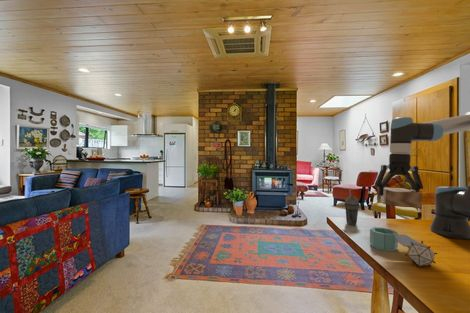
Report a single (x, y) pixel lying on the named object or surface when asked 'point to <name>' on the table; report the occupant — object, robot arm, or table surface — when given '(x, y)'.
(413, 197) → the brown wooden block
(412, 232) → the table surface
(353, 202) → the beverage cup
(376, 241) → the bowl
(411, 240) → the mat
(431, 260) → the game die
